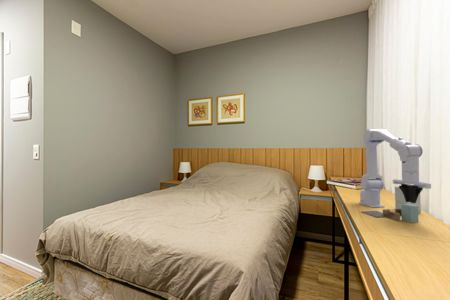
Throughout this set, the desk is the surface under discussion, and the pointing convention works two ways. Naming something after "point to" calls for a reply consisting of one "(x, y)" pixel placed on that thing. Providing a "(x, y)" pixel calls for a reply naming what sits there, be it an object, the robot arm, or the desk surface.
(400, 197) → the supplement box
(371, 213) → the mat
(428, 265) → the desk surface
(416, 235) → the desk surface
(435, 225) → the desk surface
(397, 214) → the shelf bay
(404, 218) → the block
